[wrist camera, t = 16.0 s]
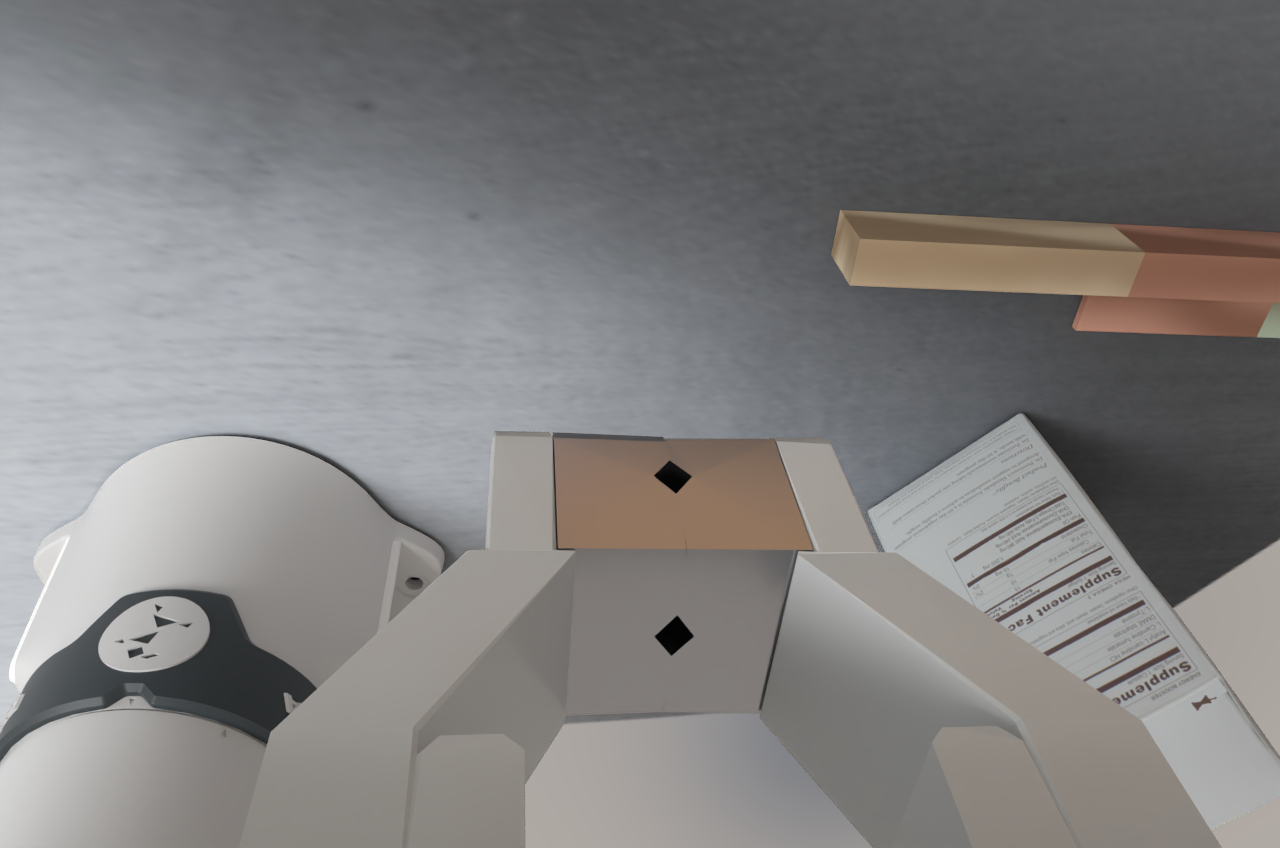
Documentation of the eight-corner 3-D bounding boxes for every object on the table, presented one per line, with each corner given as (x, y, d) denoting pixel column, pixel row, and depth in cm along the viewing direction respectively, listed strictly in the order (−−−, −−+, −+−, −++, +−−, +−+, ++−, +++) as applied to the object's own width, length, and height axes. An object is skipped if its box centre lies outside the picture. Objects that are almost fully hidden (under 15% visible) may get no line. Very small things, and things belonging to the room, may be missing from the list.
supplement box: (860, 509, 51) (986, 795, 37) (1020, 405, 48) (1222, 671, 34) (952, 606, 55) (1094, 894, 41) (1102, 516, 52) (1309, 792, 38)
